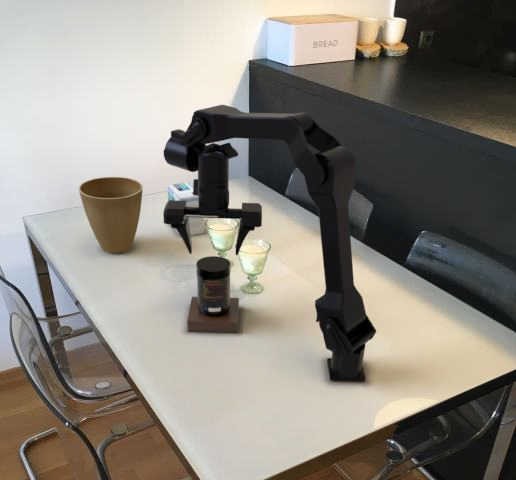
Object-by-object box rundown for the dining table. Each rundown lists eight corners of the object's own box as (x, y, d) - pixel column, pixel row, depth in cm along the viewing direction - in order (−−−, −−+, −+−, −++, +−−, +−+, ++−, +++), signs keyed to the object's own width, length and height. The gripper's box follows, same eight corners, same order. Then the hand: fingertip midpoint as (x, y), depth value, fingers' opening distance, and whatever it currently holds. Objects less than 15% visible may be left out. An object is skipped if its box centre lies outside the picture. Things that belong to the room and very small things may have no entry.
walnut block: (237, 333, 120) (237, 322, 119) (187, 331, 120) (187, 321, 119) (238, 307, 129) (238, 297, 127) (192, 306, 129) (191, 296, 127)
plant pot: (89, 263, 144) (80, 200, 135) (86, 238, 155) (77, 178, 146) (151, 257, 147) (146, 195, 138) (143, 233, 159) (138, 174, 150)
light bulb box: (168, 222, 166) (166, 184, 160) (191, 218, 168) (190, 181, 162) (181, 237, 158) (179, 197, 152) (204, 233, 160) (204, 194, 154)
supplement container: (227, 299, 126) (227, 255, 121) (233, 316, 121) (233, 270, 115) (195, 302, 125) (194, 257, 119) (200, 319, 120) (198, 272, 114)
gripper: (262, 165, 118) (259, 238, 127) (168, 162, 118) (172, 235, 127) (263, 185, 109) (260, 262, 118) (161, 181, 109) (165, 259, 118)
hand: (213, 253), depth 120 cm, fingers open, 9 cm apart
